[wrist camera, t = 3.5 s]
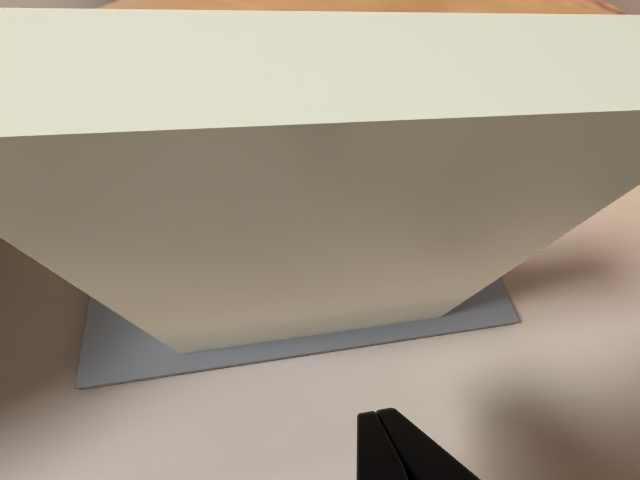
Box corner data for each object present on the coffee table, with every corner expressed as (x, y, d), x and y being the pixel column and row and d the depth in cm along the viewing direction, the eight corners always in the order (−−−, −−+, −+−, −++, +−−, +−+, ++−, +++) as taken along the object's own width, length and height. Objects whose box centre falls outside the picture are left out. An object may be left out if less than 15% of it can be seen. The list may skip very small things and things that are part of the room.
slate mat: (513, 324, 17) (519, 321, 17) (80, 389, 14) (74, 388, 13) (412, 86, 25) (415, 80, 25) (126, 93, 22) (123, 87, 22)
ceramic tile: (439, 317, 16) (758, 105, 5) (180, 354, 14) (-146, 143, 3) (424, 270, 17) (661, 15, 6) (182, 298, 16) (-61, 7, 5)
